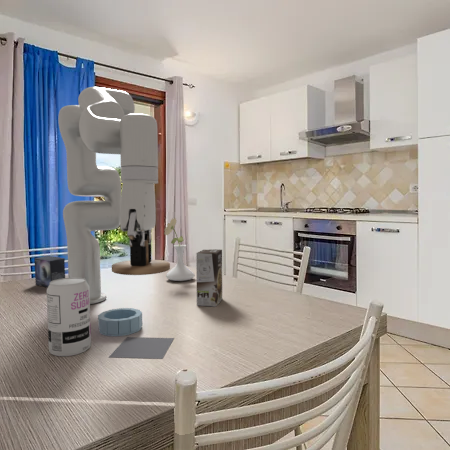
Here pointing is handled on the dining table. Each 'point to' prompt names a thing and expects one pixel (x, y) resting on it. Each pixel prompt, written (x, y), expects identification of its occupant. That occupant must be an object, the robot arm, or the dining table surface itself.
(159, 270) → the lid
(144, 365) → the dining table surface
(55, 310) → the supplement can
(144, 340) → the mat
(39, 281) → the small box
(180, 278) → the flower in vase
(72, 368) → the dining table surface
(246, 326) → the dining table surface
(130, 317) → the bowl
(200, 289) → the coffee box
